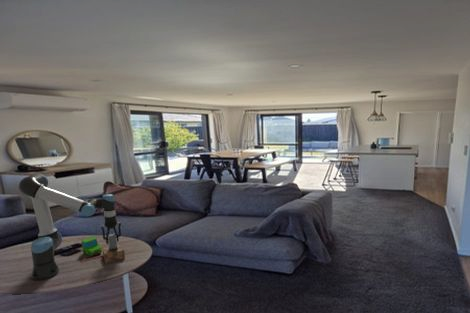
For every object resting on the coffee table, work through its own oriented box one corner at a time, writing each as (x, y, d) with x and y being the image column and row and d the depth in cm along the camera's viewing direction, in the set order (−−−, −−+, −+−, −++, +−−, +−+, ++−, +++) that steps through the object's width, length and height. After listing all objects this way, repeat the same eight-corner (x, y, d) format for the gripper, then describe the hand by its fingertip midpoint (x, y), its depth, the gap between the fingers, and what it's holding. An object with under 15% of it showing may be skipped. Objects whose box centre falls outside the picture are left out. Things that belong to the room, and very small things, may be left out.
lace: (81, 262, 206) (80, 261, 206) (79, 260, 209) (79, 259, 209) (106, 254, 217) (106, 254, 217) (105, 253, 220) (105, 252, 220)
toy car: (90, 258, 213) (88, 245, 212) (81, 253, 221) (80, 241, 220) (103, 253, 221) (102, 240, 220) (94, 249, 229) (93, 236, 228)
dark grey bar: (110, 256, 210) (108, 236, 208) (110, 254, 214) (108, 234, 212) (117, 255, 212) (115, 235, 211) (116, 252, 216) (114, 233, 214)
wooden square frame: (105, 262, 205) (104, 254, 204) (103, 255, 216) (102, 248, 215) (124, 258, 211) (124, 250, 210) (121, 251, 222) (121, 243, 222)
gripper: (97, 219, 202) (100, 251, 205) (123, 214, 211) (126, 245, 214) (96, 216, 209) (99, 248, 212) (122, 212, 217) (124, 242, 220)
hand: (112, 246), depth 213 cm, fingers closed on dark grey bar, 4 cm apart
